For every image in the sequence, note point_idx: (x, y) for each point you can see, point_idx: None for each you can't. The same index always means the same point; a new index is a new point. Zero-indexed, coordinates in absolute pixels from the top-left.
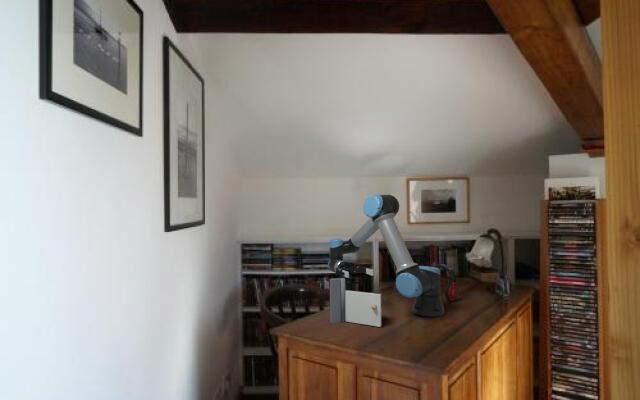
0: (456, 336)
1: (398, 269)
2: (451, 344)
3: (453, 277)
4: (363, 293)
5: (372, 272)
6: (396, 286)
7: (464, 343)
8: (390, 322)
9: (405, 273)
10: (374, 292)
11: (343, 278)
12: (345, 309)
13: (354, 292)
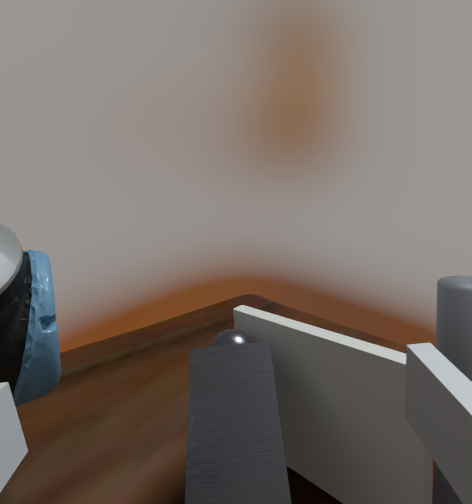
0: (94, 359)
1: (2, 253)
2: (152, 336)
3: None
4: (311, 328)
5: (8, 415)
6: (57, 355)
7: (123, 336)
8: (169, 488)
9: (37, 252)
10: (235, 344)
11: (455, 282)
12: (432, 497)
13: (364, 344)
